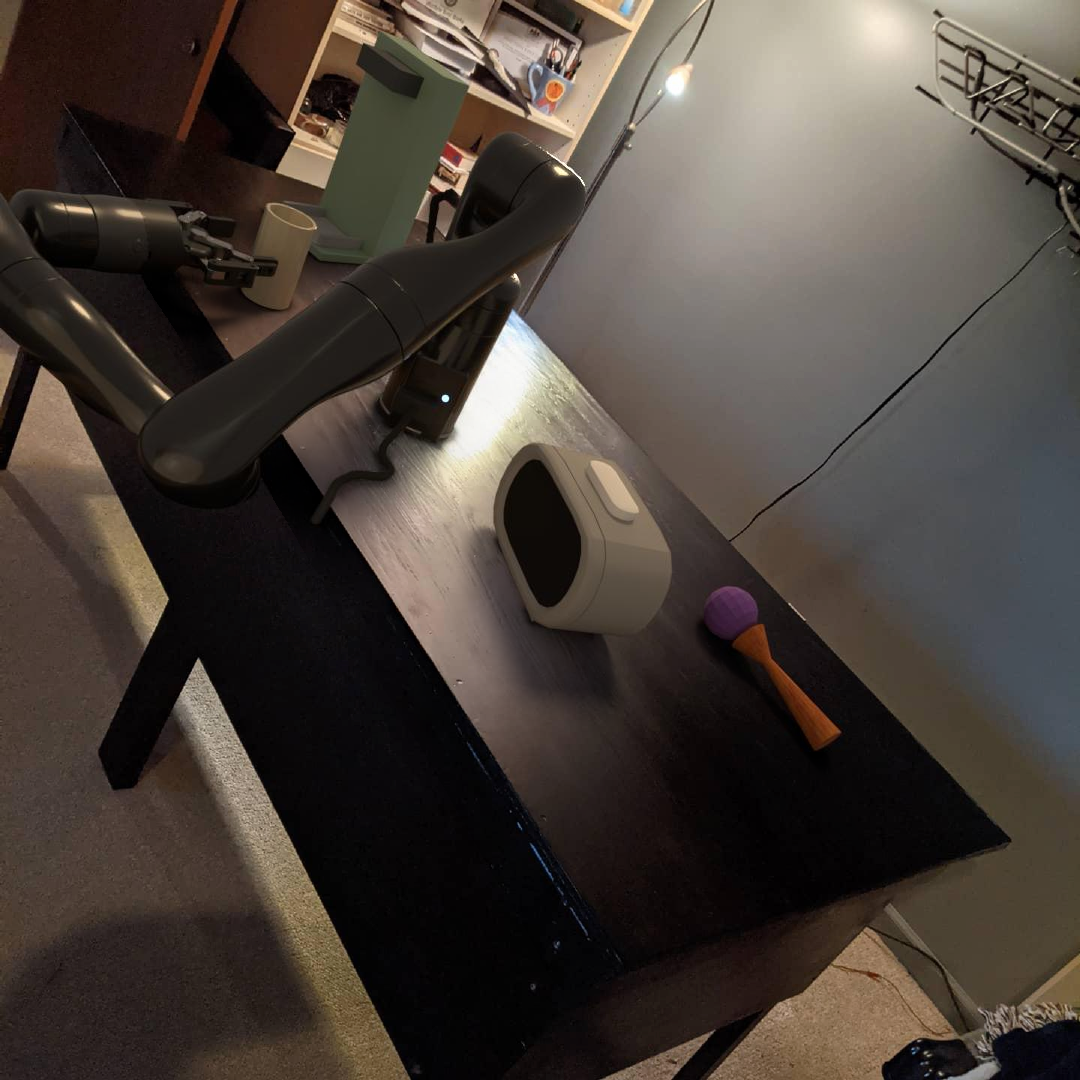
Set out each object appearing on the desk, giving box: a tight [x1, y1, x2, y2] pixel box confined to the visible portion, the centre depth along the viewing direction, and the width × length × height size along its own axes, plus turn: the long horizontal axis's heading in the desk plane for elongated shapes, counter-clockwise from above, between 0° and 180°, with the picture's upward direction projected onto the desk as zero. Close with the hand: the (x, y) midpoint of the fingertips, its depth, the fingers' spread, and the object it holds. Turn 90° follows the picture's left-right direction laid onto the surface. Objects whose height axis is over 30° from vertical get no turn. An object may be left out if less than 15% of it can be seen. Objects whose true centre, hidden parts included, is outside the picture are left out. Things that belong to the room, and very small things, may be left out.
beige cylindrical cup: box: [240, 202, 317, 311], centre depth 104 cm, size 6×6×11 cm
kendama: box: [702, 585, 842, 752], centre depth 91 cm, size 6×6×20 cm
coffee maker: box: [264, 30, 470, 265], centre depth 125 cm, size 16×14×29 cm
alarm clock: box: [492, 441, 673, 638], centre depth 84 cm, size 21×10×13 cm, turn 21°
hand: (253, 247), depth 100 cm, fingers open, 8 cm apart
